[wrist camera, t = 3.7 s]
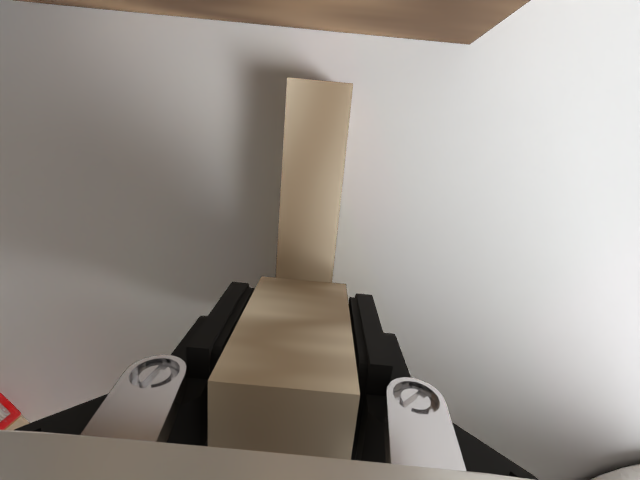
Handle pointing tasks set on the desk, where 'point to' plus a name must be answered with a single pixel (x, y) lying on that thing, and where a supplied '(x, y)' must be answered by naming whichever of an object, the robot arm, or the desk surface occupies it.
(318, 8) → the brown wooden board
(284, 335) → the scraper
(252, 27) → the desk surface
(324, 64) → the desk surface
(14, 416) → the stack of blocks
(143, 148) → the desk surface
